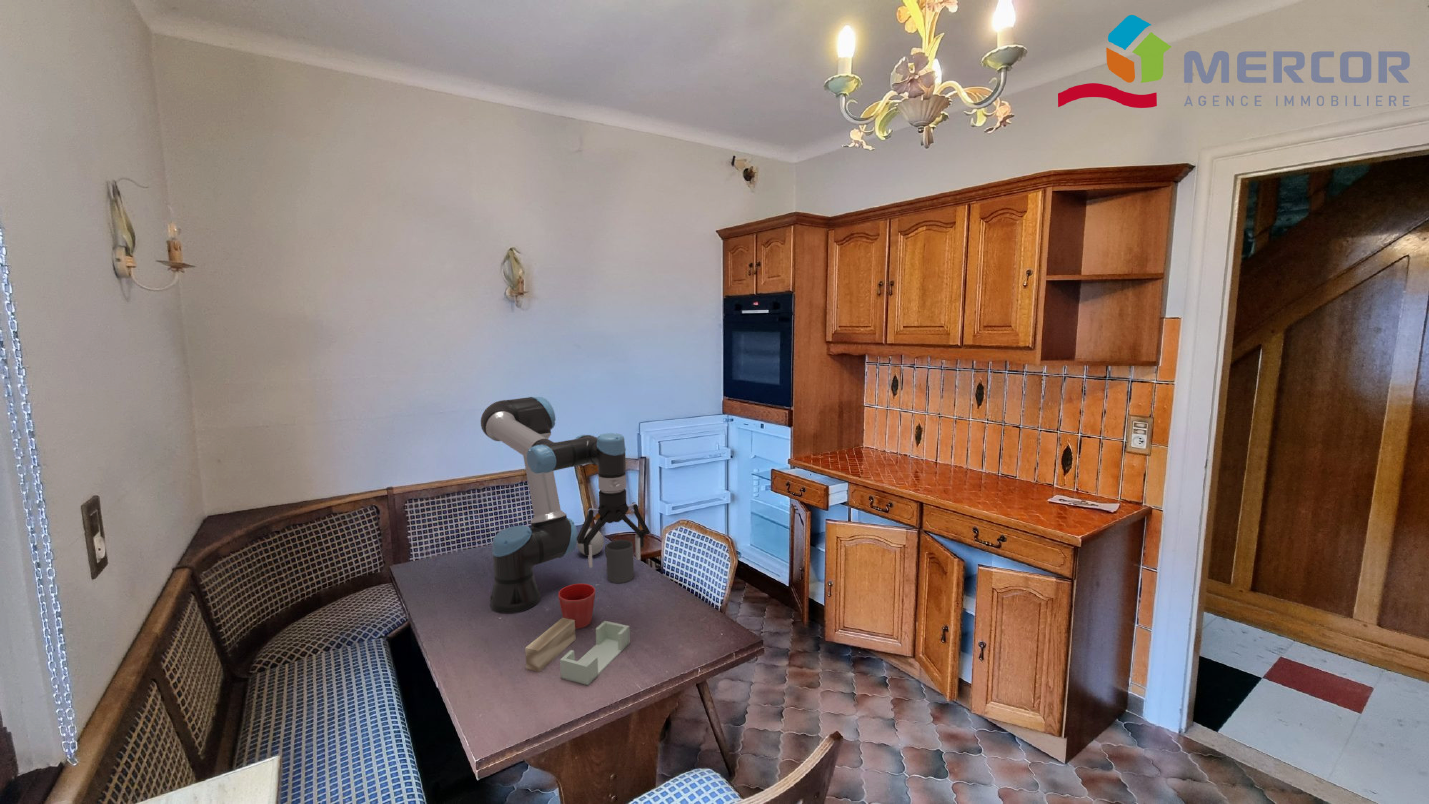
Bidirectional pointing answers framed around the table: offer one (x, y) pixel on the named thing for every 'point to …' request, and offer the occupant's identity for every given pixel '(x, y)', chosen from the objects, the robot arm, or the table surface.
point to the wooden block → (550, 644)
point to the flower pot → (577, 603)
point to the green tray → (596, 654)
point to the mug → (619, 561)
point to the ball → (593, 543)
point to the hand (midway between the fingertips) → (614, 561)
